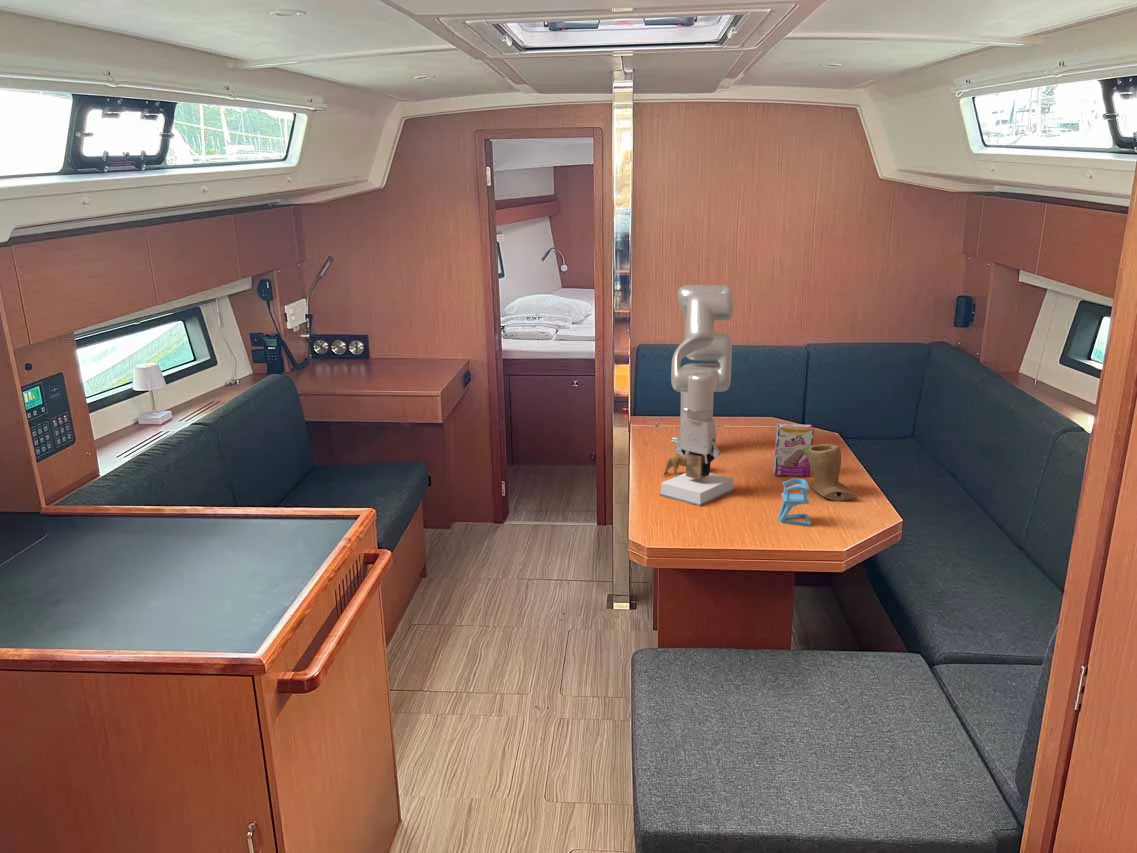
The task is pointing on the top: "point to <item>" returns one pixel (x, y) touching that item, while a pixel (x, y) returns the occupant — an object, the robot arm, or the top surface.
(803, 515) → the chair
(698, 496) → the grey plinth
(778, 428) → the candy bar box
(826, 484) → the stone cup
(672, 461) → the lion figurine
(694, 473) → the walnut block
